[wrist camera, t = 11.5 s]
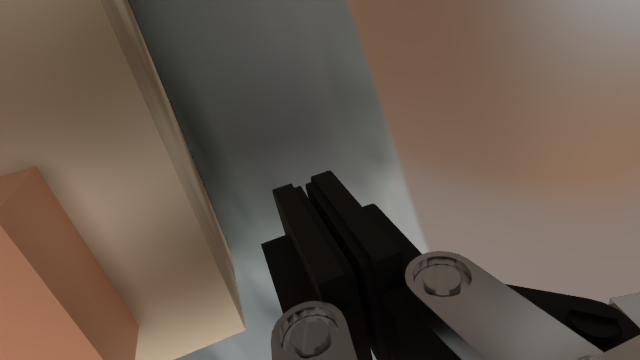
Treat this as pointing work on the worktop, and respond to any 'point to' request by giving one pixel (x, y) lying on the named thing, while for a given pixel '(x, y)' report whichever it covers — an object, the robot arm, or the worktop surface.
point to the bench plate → (117, 166)
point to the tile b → (54, 283)
